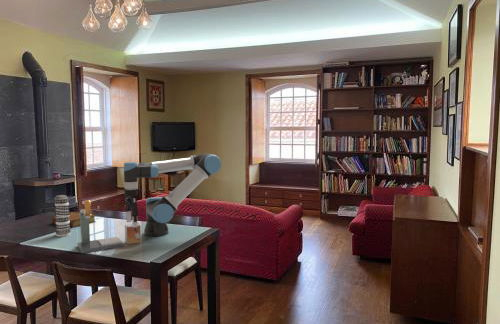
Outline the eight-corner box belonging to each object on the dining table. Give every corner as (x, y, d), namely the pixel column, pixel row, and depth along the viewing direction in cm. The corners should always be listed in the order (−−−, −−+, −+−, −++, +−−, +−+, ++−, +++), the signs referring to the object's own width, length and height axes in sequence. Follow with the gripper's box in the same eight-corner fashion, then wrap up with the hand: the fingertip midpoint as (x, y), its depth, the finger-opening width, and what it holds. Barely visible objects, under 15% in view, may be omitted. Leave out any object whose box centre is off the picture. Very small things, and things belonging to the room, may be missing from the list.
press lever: (79, 213, 222) (79, 196, 221) (87, 212, 224) (86, 195, 223) (84, 219, 207) (83, 201, 206) (92, 218, 209) (92, 200, 208)
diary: (52, 224, 276) (51, 216, 275) (75, 219, 292) (75, 211, 291) (72, 228, 264) (71, 220, 263) (95, 222, 280) (95, 214, 279)
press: (116, 240, 235) (115, 209, 233) (123, 246, 222) (121, 213, 221) (77, 246, 224) (75, 213, 222) (81, 253, 211) (79, 218, 209)
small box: (127, 244, 226) (126, 227, 225) (125, 242, 231) (124, 224, 230) (141, 242, 230) (140, 225, 229) (138, 240, 235) (138, 223, 234)
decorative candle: (53, 237, 243) (50, 197, 240) (58, 232, 252) (56, 194, 249) (68, 236, 244) (66, 196, 242) (73, 232, 253) (71, 194, 251)
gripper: (119, 186, 236) (120, 220, 238) (130, 192, 215) (131, 230, 217) (131, 185, 240) (132, 219, 242) (143, 191, 219) (144, 228, 220)
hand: (131, 224), depth 229 cm, fingers open, 13 cm apart
